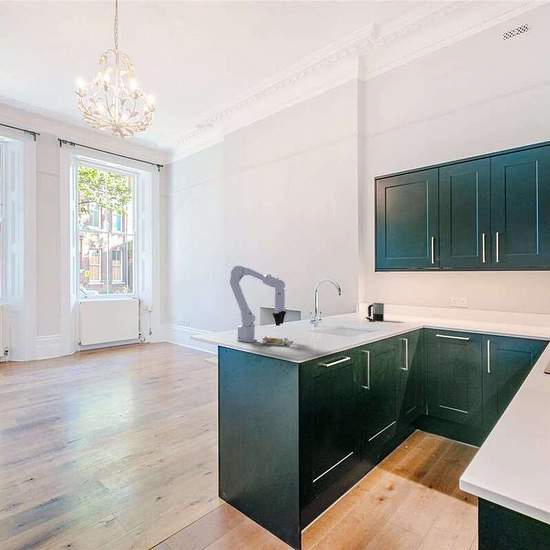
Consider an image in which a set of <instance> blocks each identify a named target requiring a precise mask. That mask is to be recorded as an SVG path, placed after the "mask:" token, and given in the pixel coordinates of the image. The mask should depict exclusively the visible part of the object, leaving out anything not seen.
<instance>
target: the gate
mask: <svg viewBox="0 0 550 550" xmlns="http://www.w3.org/2000/svg"><path fill="white" fill-rule="evenodd" d="M283 341H284V338H281V337H280V338H279V337H267V343H272V344H283Z"/></svg>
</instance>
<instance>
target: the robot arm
mask: <svg viewBox="0 0 550 550" xmlns="http://www.w3.org/2000/svg"><path fill="white" fill-rule="evenodd" d="M244 276H250V277H254V278H255V279H258V280H260V281H261V282H262V284H264V285H267V286H269V287H270V288H274V312H273V313H272V317H273V318H274V322H275V326H278V327H279V326H281V325H283V324H284V320H285V316H286V314H287V308H285V304H286V303H285V301H286V299H285V298H286V295H285V291H286V290H285V288H286V282H285V281H284V280H283V279H280V278H279V277H274V276H273V275H272V274H267V273H266V274H262V273H260V272H258V271H256V270H254V269H252V268H249V267H246V266H243V265H236V266H234V267H233V268H232V270H231V271H230V280H229V284H230V287H231V290H232V292H233V294H234V295H233V296H234V298H235V300H236V303H237V305H238V308H239V310H240V316H241V323H242V324H239V325H238V327H237V340H236V342H244V343H246V342H248V343H254V342H255V341H257V338H255V323H254V322H255V321H256V316H255V314H253V312H252V310H251V309H250V308H249V305H248V303H247V299H246V297H245V294H244V293H243V292H244V291H243V290H242V288H241V285H240V282H241V280H242V278H243V277H244Z"/></svg>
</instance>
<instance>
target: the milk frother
mask: <svg viewBox="0 0 550 550" xmlns="http://www.w3.org/2000/svg"><path fill="white" fill-rule="evenodd" d="M384 308H385V303H383V302H373V303H372V304H369V305H368V307H367V314H368V315H367V316H365V319H366V320H368V321H369V322H384V321H385V320H384V319H385V317H384V316H385V315H384V313H385V309H384ZM371 317H372V318H371Z"/></svg>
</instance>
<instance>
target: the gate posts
mask: <svg viewBox="0 0 550 550" xmlns="http://www.w3.org/2000/svg"><path fill="white" fill-rule="evenodd" d="M267 338H268V336H263V337H262V338H261V339H262V343H263V345H267ZM283 341H284V345H285V346H287V345H288V341H289V339H288V338H287V337H284V338H283Z"/></svg>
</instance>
